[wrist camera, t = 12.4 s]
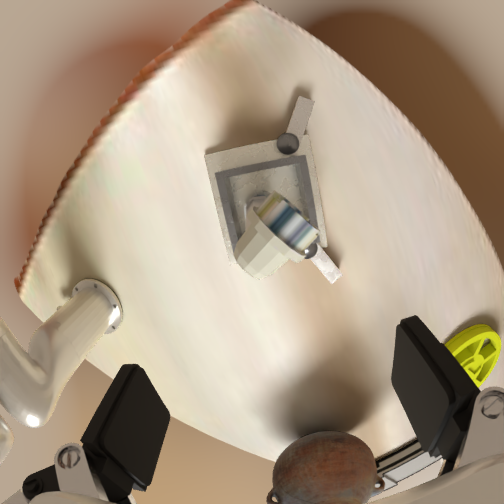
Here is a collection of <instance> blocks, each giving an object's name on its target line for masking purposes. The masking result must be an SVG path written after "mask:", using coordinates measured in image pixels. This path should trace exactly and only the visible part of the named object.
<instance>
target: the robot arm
mask: <svg viewBox="0 0 504 504" xmlns="http://www.w3.org/2000/svg"><path fill="white" fill-rule="evenodd" d="M122 318H123V316H122V308H121V305H120V302H119V300H118V299H117V297H116V295H115V294H114V293H113V291H112V290H111V289H110V288H109V287H107V286H106V285H105V284H103V283H102V282H100V281H98V280H95V279H84V280H81V281H80V282H78V283H77V284H76V285H75V287H74V288H73V291H72V298H71V299H70V300H69V301H68V302H67V303H65V304H64V305H63V306H58V307H57V311H56V312H55V313H54V314H53V315H52V316H51V317H50V318H49V319H48V320H46V321H45V322H44V323H43V324H42V325H41V326H40V327H39V328H38V329H37V330H36V331H35V332H34V334H33V335H32V337H31V340H30V343H29V349H28V353H26V351H25V350H24V349H23V347H22V346H21V345H20V343H19V342H18V341H17V339H16V338H15V336H14V335H13V333H12V332H11V330H10V329H9V328H8V326H7V325H6V323H5V322H4V321H3V319H2V318H1V317H0V404H1V405H2V406H3V407H4V408H5V409H6V411H7V412H8V413H9V414H11V416H12V417H13V418H15V419H16V420H17V421H18V422H20V423H21V424H23V425H25V426H27V427H31V428H38V427H41V426H43V425H44V424H45V423H46V422H47V421H48V420H49V419H50V417H51V415H52V414H53V411H54V409H55V407H56V404H57V402H58V399H59V397H60V395H61V393H62V390H63V389H64V387H65V385H66V384H67V382H68V380H69V379H70V378H71V376H72V374H73V373H74V372H75V371H76V369H77V368H78V366H79V365H80V364H81V363H82V361H83V360H84V359H85V357H86V356H87V355H88V353H89V352H90V351H91V349H92V348H93V347H94V346H95V344H96V343H97V342H98V340H99V339H100V338H101V337H102V335H103V334H109V333H112V332H114V331H116V330H117V329H118V327H119V326H120V324H121V322H122ZM391 380H392V385H393V387H394V389H395V391H396V393H397V395H398V397H399V400H400V402H401V404H402V406H403V408H404V410H405V412H406V414H407V416H408V419H409V421H410V423H411V425H412V427H413V430H414V432H415V434H416V436H417V438H418V441H419V443H420V445H421V448H422V450H423V451H424V452H428V453H429V455H430V458H431V457H433V456H435V455H437V454H439V453H441V456H442V458H443V459H444V462H443V464H442V467H441V469H440V472H439V474H438V477H437V478H435V479H433V480H431V481H428V482H426V483H423V484H421V485H419V486H416V487H414V488H411V489H408V490H406V491H403V492H400V493H397V494H394V495H391V496H389V497H385V498H382V499H379V500H376V501H373V502H369V503H365V504H504V389H503V388H500V387H489V388H486V389H484V390H483V391H480V390H479V388H478V387H477V386H476V384H475V383H474V382H473V380H472V379H471V378H470V376H469V375H468V374H467V372H466V371H465V370H464V368H463V367H462V366H461V365H460V363H459V362H458V361H457V360H456V358H455V357H454V356H453V355H452V353H451V352H450V351H449V350H448V348H447V347H446V346H445V345H444V344H442V343H440V342H439V341H438V340H437V338H436V337H435V336H434V335H433V334H432V332H431V331H430V330H429V329H428V328H427V326H426V325H425V324H424V323H423V322H422V321H421V320H420V318H419V317H418V316H416V315H415V316H411V317H408V318H405V319H402V320H401V322H400V324H399V325H397V327H396V339H395V351H394V360H393V369H392V376H391ZM169 421H170V413H169V411H168V409H167V408H166V406H165V405H164V403H163V401H162V400H161V398H160V396H159V395H158V393H157V391H156V390H155V388H154V386H153V385H152V383H151V381H150V379H149V378H148V376H147V374H146V372H145V371H144V369H143V368H141V367H140V366H139V365H138V364H124V365H122V367H121V368H120V370H119V372H118V373H117V375H116V377H115V378H114V380H113V382H112V384H111V386H110V387H109V389H108V391H107V393H106V394H105V396H104V398H103V399H102V401H101V403H100V405H99V407H98V408H97V410H96V412H95V414H94V416H93V418H92V419H91V421H90V423H89V425H88V427H87V429H86V431H85V432H84V434H83V436H82V438H81V440H80V441H81V442H82V443H83V446H82V447H81V446H80V445H79V444H76V443H68V444H65V445H63V446H62V447H61V448H60V449H59V450H58V451H57V453H56V455H55V458H54V463H55V464H54V465H52V466H50V467H48V468H45V469H43V470H40V471H38V472H36V473H33V474H31V475H29V476H28V477H27V478H26V479H25V481H24V482H23V487H22V488H23V491H22V490H19V491H17V492H16V493H15V494H14V495H12V496H11V497H10V498H8V499H7V500H6V501H4V502H3V503H2V504H137V503H136V502H135V500H134V498H133V496H132V494H131V490H132V488H133V489H134V490H139V491H146V489H147V486H149V485H150V484H151V482H152V478H153V475H154V471H155V468H156V464H157V461H158V458H159V454H160V450H161V447H162V444H163V441H164V437H165V434H166V431H167V428H168V424H169ZM13 443H14V435H13V432H12V430H11V428H10V426H9V425H8V424H7V423H6V421H5V420H4V419H3V418H2V416H1V415H0V465H1V463H2V462H3V460H4V459H5V458H6V456H7V455H8V453H9V452H10V450H11V448H12V446H13Z"/></svg>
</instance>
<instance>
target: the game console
mask: <svg viewBox="0 0 504 504" xmlns="http://www.w3.org/2000/svg"><path fill="white" fill-rule="evenodd" d="M441 458H442V456H441V453H439V454H437V455H435V456H433V457H431V458H430V455H429V453H428V452H424V451H423V450H422V448H421V445H420V443H419V441H418V439H417V440H416V441H414V442H412V443H411V444H409V445H407V446H405V447H404V448H402V449H400V450H398V451H396V452H394V453H392V454H390V455H388V456H386V457H384V458H382V459H380V460H378V461H376V462H375V463H376V467H377V475H378V476H379V477H380V478H382V479H383V480H384V482H385V488H384V490H383V491H385V490H388V489H390V488H392V487H394V486H396V485H397V482H399V481H401V480H403V479H405V478H407V477H409V476H411V475H413V474H415V473H417V472H419V471H421V470H422V469H424V468H426V467H428V466H429V465H431V464H433V463H435V462H436V461H438V460H440V459H441ZM375 487H376V488H378V487H380V484H375Z"/></svg>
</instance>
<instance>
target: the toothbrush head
mask: <svg viewBox="0 0 504 504" xmlns="http://www.w3.org/2000/svg"><path fill="white" fill-rule="evenodd" d="M244 215H245V220H246V230H245V232H244V234H243V235H242V236H241V238H240V239H239V240H238V242H237V245H236V248H235V251H234V254H233V255H234V257H235V260H236V262H237V263H238V264H239V265H240V267H241V268H242V269H243V270H244V271H245V272H246V273H248V274H249V275H250V276H252V277H254V278H256V279H259V280H260V279H263V278H266V277H268V276H270V275H272V274H273V273H274V272H276V271H277V270H278V269H279V268H280V267H281V266H282V265H283V264H285V263H286V262H287V261H288V260H289V259H290V260H292V261H294V262H295V263H297V262H301V261H302V260H303V259H304V258H305V257H306V253H305V251H304V250H305V249H306V248H307V247H308V246H309V245H310V244H311V243H312V242H313V241H314V240H315V239H316V238H317V236H318V235H319V234H320V233H321V232H320V230H319V229H318V228H317V227H316V226H315V225H314V224H313V225H311V224H310V223H309V222H308V220H309V219H308V218H307V217H306V216H305V215H304V214H303V213H302V212H301V211H300V210H299V209H298V208H296V207H295V206H294V205H293V204H292V203H291V202H290V201H288V200H287V199H286V198H285V197H284V196H282V195H281V194H280V193H278V192H276V191H275V190H273V192H272V193H271V194H270V195H269V196H268V197H266V196H264V195H262V196H254V197H252V198H251V199H250V200H249V201H248V202H247V203H246V205H245V206H244Z"/></svg>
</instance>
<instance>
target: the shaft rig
mask: <svg viewBox="0 0 504 504" xmlns="http://www.w3.org/2000/svg"><path fill="white" fill-rule="evenodd" d="M314 102H315V101H313V100H310V99H307V98H304V97H302V96H299V97H298V99H297V101H296V104H295V107H294V110H293V113H292V116H291V119H290V121H289V124H288V127H287V130H286V133H284V134H282V135H280V137H279V138H278V139H277V140H271V141H266V142H261V143H256V144H251V145H246V146H241V147H237V148H232V149H228V150H224V151H219V152H215V153H211V154H207V155H204V157H205V162H206V166H207V170H208V175H209V179H210V183H211V188H212V192H213V196H214V200H215V205H216V209H217V213H218V217H219V221H220V225H221V229H222V233H223V238H224V242H225V246H226V250H227V254H228V258H229V262H230V265H234V264H238V263H237V262H236V260H235V257H234V255H233V254H234V251H235V248H236V245H237V242H238V240H239V239H240V238H241V236H242V235H243V234H244V232H245V230H246V220H245V215H244V206H245V205H246V203H247V202H248V201H249V200H250V199H251V198H252V197H254V196H262V195H264V196H266V197H268V196H269V195H270V194H271V193H272V192H273V190H275V191H276V192H278V193H280V194H281V195H282V196H284V197H285V198H286V199H287V200H288V201H290V202H291V203H292V204H293V205H294V206H295V207H296V208H298V209H299V210H300V211H301V212H302V213H303V214H304V215H305V216H306V217H307V218H308V219H309V220H308V222H309V223H310V224H311V225H313V224H314V225H315V226H316V227H317V228H318V229H319V230H320V232H321V233H320V234H319V235H318V236H317V238H316V239H315V240H314V241H313V242H312V243H311V244H310V245H309V246H308V247H307V248H306V249H305V250H304V251H305V253H306V257H305V259H309V258H310V259H311V260H312V261H313V262H314V264H315V265H316V266H317V267H318V268H319V270H320V271H321V272H322V273H323V274H324V276H325V277H326V278H327V279H328V280H329V282H330V283H331V284H332V283H333V282H335V281H336V280H337V279H338V278H340V277H341V276H342V275H343V274H342V273H341V271H340V270H339V268H338V267H337V266H336V265H335V263H334V262H333V261H332V260H331V258H330V257H329V256H328V255H327V254H326V252H325V251H324V250H323V249H322V248H324V247H327V239H326V232H325V225H324V218H323V211H322V205H321V199H320V193H319V187H318V181H317V176H316V170H315V165H314V159H313V154H312V149H311V144H310V140H309V135H308V134H307V135H303V134H304V131H305V128H306V126H307V123H308V120H309V117H310V114H311V111H312V108H313V105H314Z"/></svg>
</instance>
